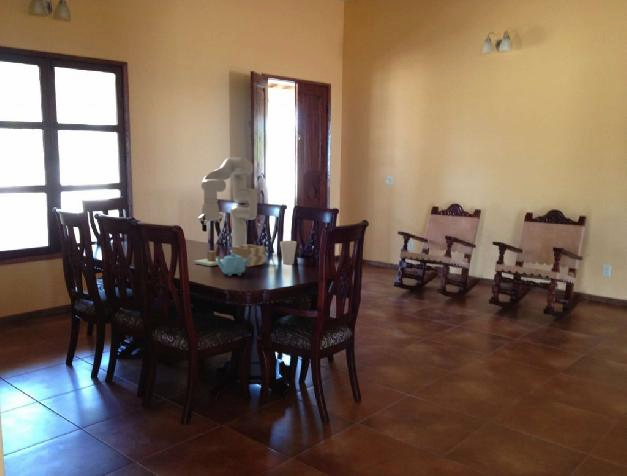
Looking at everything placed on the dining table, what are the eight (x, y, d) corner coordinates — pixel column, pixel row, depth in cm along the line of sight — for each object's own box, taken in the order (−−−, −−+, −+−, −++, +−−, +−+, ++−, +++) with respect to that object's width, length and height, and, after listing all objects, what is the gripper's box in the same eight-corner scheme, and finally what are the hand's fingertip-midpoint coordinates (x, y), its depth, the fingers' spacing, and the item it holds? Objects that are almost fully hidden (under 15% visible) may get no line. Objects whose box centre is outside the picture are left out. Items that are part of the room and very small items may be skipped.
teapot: (236, 278, 280) (236, 256, 278) (214, 275, 285) (214, 254, 284) (251, 273, 294) (251, 252, 292) (230, 270, 299) (230, 250, 298)
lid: (213, 261, 330) (213, 248, 328) (229, 264, 320) (229, 251, 319) (193, 264, 318) (193, 251, 317) (209, 267, 309) (209, 254, 308)
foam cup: (298, 262, 325) (298, 241, 323) (291, 265, 317) (291, 243, 315) (284, 261, 329) (284, 240, 327) (277, 264, 321) (277, 242, 319)
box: (249, 260, 331) (249, 244, 330) (265, 263, 323) (265, 246, 321) (232, 263, 321) (232, 246, 320) (248, 266, 312) (248, 249, 311)
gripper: (218, 200, 323) (218, 228, 326) (194, 201, 310) (195, 231, 313) (226, 200, 318) (226, 229, 321) (202, 202, 305) (203, 232, 308)
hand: (211, 230), depth 317 cm, fingers open, 9 cm apart
